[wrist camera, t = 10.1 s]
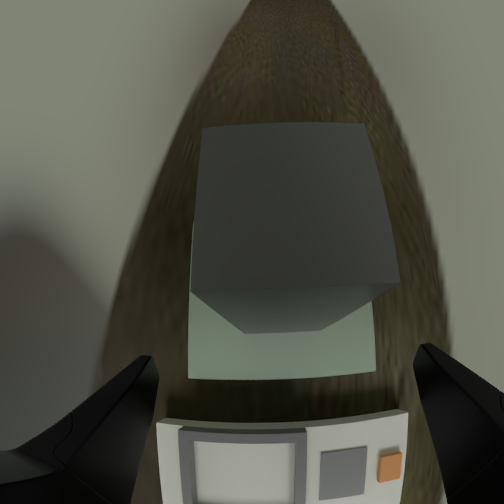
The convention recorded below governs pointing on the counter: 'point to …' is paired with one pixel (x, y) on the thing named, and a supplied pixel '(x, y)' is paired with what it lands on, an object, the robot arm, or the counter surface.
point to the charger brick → (290, 225)
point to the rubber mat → (277, 347)
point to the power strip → (284, 460)
